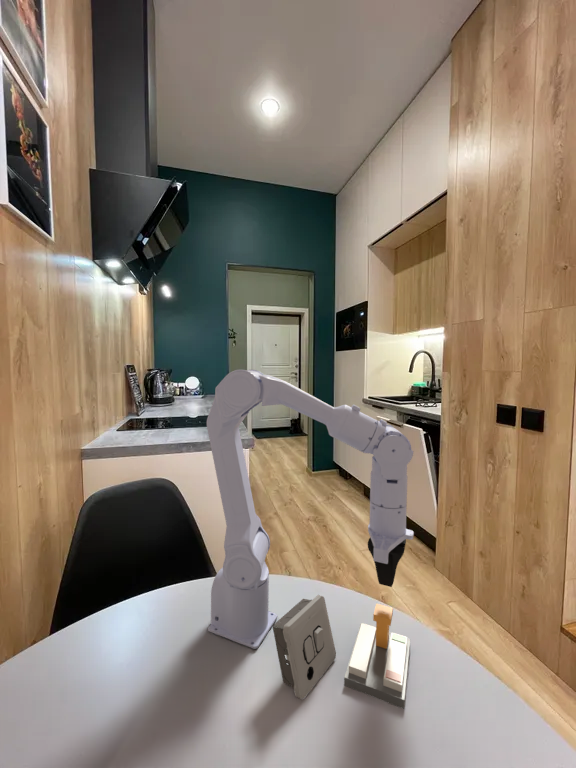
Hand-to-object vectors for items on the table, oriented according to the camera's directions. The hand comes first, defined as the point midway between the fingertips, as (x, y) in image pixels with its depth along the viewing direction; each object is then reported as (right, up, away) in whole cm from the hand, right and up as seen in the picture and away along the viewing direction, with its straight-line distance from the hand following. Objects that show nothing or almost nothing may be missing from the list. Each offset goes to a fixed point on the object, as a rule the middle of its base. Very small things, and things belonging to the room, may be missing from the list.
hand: (385, 583), depth 56 cm
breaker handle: (-1, -8, -2) cm, 8 cm away
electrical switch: (-14, -10, -6) cm, 18 cm away
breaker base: (-2, -10, -5) cm, 11 cm away
